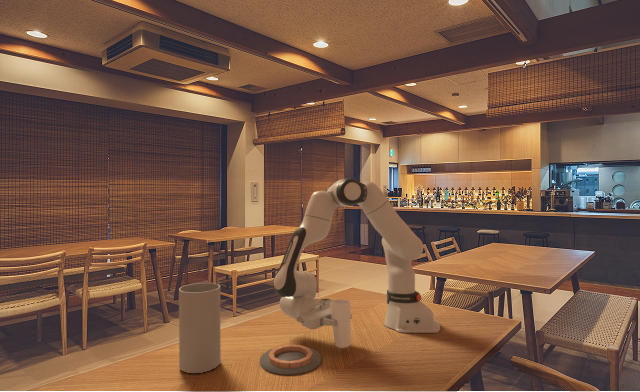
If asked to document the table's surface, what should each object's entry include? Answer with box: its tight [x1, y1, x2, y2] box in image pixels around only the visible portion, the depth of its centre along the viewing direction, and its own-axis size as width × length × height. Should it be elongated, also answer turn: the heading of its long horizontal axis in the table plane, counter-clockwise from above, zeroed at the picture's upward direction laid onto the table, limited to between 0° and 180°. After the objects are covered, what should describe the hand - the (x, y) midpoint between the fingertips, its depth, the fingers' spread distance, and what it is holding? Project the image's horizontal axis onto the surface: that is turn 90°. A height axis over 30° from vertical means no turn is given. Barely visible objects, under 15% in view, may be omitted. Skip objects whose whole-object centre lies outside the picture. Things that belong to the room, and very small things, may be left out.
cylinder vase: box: [178, 282, 222, 374], centre depth 118 cm, size 12×12×25 cm
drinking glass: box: [331, 298, 352, 349], centre depth 127 cm, size 7×7×15 cm
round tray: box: [259, 344, 322, 376], centre depth 122 cm, size 20×20×2 cm
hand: (343, 320), depth 127 cm, fingers closed on drinking glass, 6 cm apart
